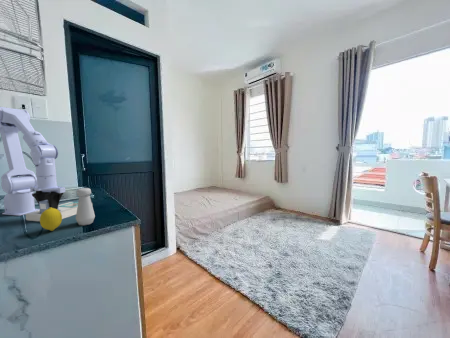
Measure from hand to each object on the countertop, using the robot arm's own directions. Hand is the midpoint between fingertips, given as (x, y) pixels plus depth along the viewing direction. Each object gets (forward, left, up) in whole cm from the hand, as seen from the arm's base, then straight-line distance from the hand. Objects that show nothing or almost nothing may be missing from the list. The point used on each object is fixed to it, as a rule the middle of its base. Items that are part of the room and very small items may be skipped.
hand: (49, 209), depth 78 cm
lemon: (+14, -10, -3) cm, 18 cm away
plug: (0, 0, -3) cm, 3 cm away
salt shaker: (+19, -2, -3) cm, 19 cm away
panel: (0, +5, -3) cm, 6 cm away
